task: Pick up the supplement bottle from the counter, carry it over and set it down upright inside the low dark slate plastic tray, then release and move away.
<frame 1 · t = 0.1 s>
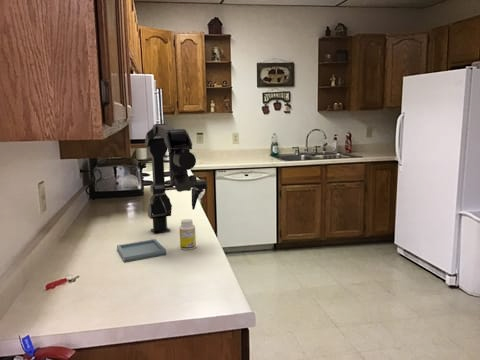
hand: (180, 211, 142), 14 cm above the table, tool pointing down, fingers open, 9 cm apart
supplement bottle: (188, 248, 147), on the table
tray: (141, 252, 144), on the table
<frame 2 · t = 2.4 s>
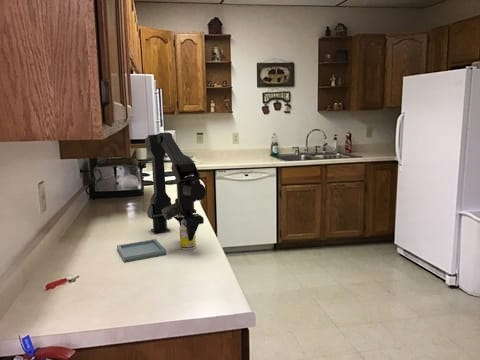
hand: (187, 238, 147), 4 cm above the table, tool pointing down, fingers closed on supplement bottle, 6 cm apart
supplement bottle: (188, 248, 147), on the table, touching gripper
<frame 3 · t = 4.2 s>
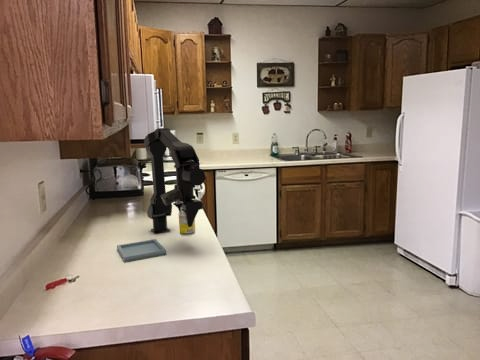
hand: (187, 224, 146), 9 cm above the table, tool pointing down, fingers closed on supplement bottle, 6 cm apart
supplement bottle: (187, 234, 146), point 5 cm above the table, touching gripper
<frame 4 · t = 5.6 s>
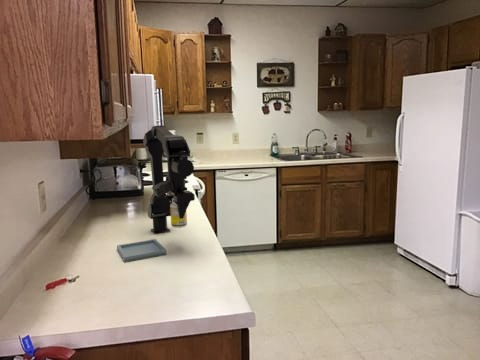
hand: (178, 216, 145), 12 cm above the table, tool pointing down, fingers closed on supplement bottle, 6 cm apart
supplement bottle: (179, 226, 145), point 8 cm above the table, touching gripper
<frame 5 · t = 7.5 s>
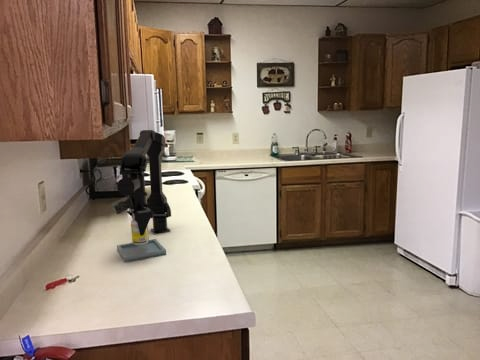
hand: (139, 233, 143), 7 cm above the table, tool pointing down, fingers closed on supplement bottle, 6 cm apart
supplement bottle: (140, 243, 144), point 3 cm above the table, touching gripper
when the fingers open (5 cm above the table, at t = 9.1 s): supplement bottle stays where it is, resting on tray.
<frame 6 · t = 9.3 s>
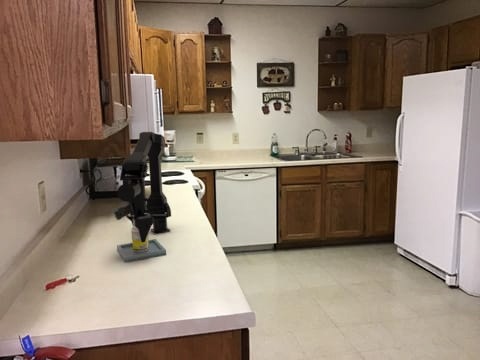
hand: (140, 238, 143), 5 cm above the table, tool pointing down, fingers open, 8 cm apart
supplement bottle: (141, 250, 144), point 1 cm above the table, touching tray
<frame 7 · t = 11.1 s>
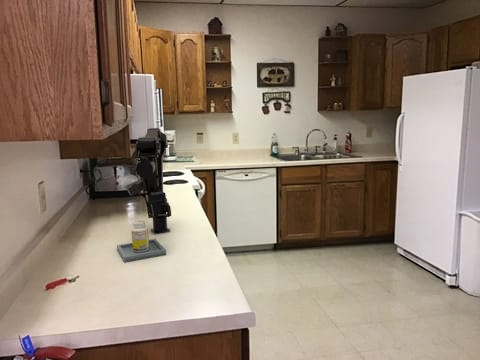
hand: (152, 214, 150), 12 cm above the table, tool pointing down, fingers open, 9 cm apart
nothing on the table moved.
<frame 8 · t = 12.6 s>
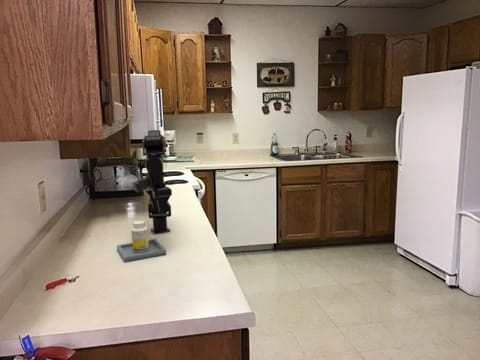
hand: (158, 211, 153), 12 cm above the table, tool pointing down, fingers open, 9 cm apart
nothing on the table moved.
at the end: supplement bottle inside the target area on the tray (0.1 cm from its centre), point 0.6 cm above the tray's base; supplement bottle tilted 0°; the gripper is holding nothing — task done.
